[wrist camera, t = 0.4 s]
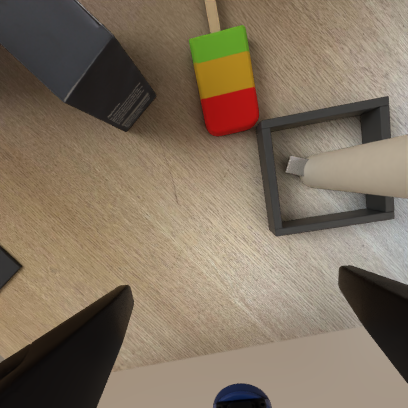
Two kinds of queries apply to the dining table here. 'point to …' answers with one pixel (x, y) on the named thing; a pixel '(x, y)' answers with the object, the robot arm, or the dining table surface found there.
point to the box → (75, 58)
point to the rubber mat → (7, 267)
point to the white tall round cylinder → (358, 168)
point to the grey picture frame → (371, 131)
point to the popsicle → (224, 77)
